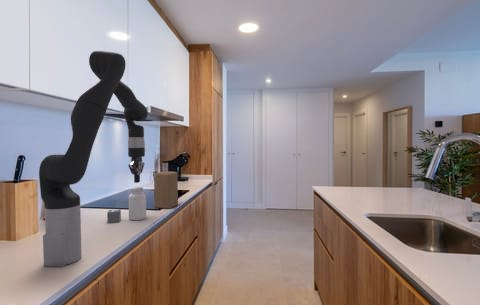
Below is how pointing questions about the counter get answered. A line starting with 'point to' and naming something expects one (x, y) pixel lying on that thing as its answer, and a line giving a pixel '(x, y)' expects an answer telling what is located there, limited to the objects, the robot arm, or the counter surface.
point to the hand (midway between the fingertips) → (137, 182)
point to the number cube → (114, 216)
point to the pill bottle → (137, 204)
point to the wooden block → (166, 189)
